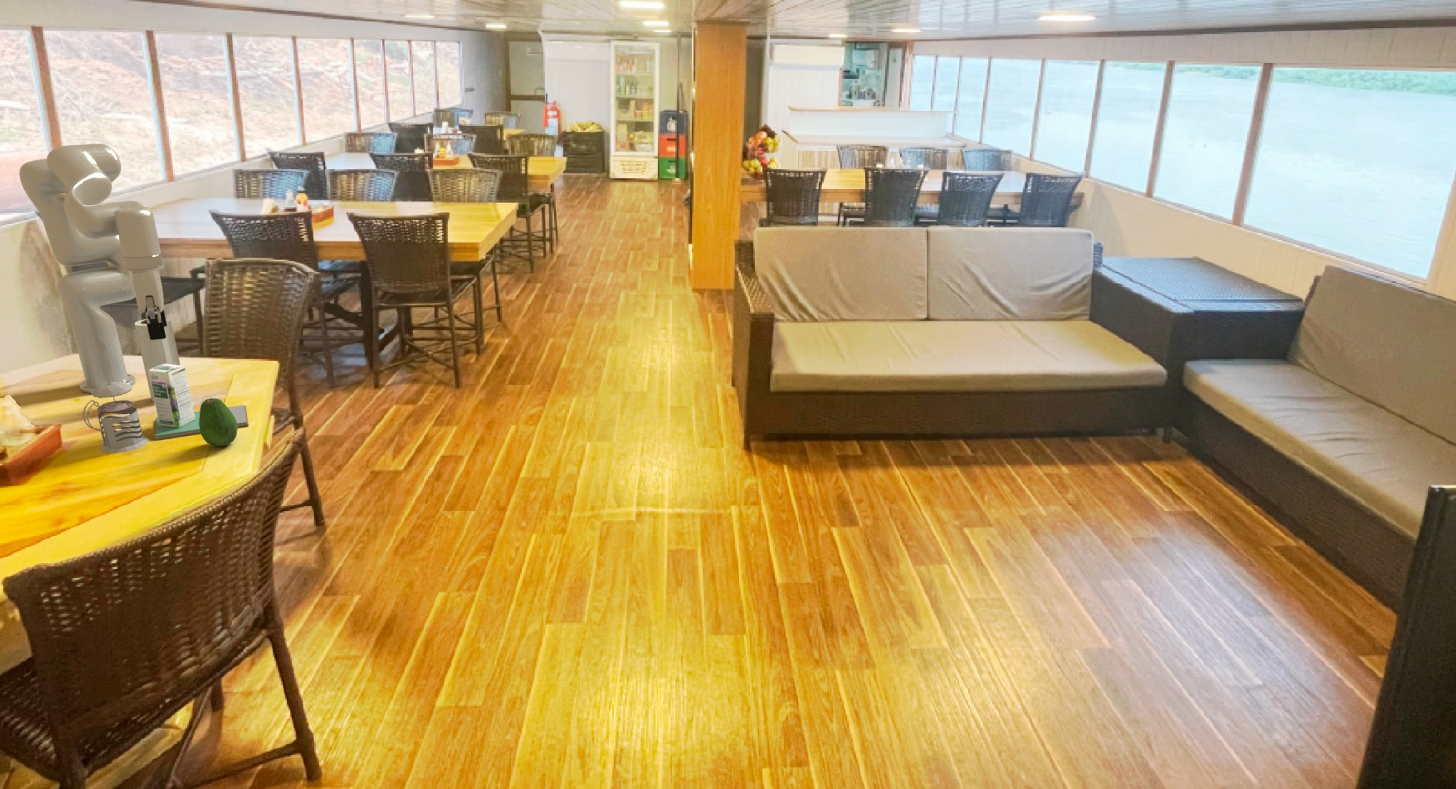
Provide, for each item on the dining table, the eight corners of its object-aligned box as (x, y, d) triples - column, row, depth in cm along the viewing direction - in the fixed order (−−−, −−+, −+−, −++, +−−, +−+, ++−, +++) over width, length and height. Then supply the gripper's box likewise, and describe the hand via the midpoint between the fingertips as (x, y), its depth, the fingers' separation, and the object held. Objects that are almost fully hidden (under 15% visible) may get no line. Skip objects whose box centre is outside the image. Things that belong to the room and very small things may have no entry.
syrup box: (158, 426, 220) (146, 370, 215) (176, 416, 226) (165, 362, 220) (179, 428, 219) (167, 372, 214) (197, 419, 225) (185, 364, 219)
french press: (157, 441, 215) (135, 341, 205) (105, 459, 205) (79, 355, 196) (135, 431, 219) (111, 333, 210) (83, 448, 210) (56, 347, 201)
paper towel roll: (146, 401, 237) (128, 322, 229) (166, 393, 242) (149, 316, 234) (167, 405, 235) (150, 326, 226) (187, 397, 240) (171, 320, 232)
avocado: (199, 443, 214) (190, 397, 210) (236, 435, 219) (227, 389, 214) (207, 455, 209) (197, 408, 204) (244, 447, 213) (236, 400, 209)
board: (156, 420, 226) (155, 416, 225) (245, 407, 235) (245, 404, 234) (154, 440, 215) (153, 436, 215) (248, 426, 224) (247, 422, 224)
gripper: (126, 254, 212) (141, 324, 219) (122, 272, 198) (138, 346, 205) (163, 252, 216) (177, 320, 222) (161, 269, 202) (176, 341, 208)
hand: (158, 332), depth 214 cm, fingers open, 9 cm apart
